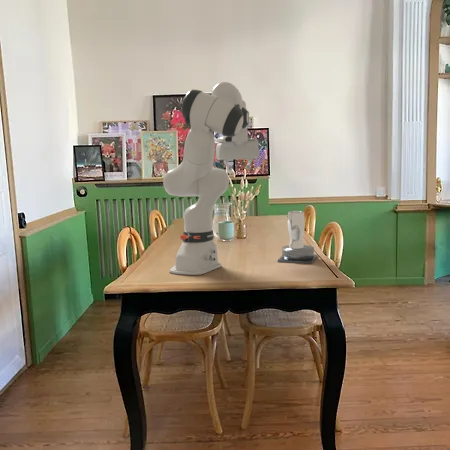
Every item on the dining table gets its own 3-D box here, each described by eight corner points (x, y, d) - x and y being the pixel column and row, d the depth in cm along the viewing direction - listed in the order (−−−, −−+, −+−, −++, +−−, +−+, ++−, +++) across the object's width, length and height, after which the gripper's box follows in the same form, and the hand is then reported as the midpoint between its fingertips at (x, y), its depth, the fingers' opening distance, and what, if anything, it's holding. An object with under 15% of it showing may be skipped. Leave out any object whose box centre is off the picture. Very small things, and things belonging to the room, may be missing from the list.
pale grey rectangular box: (296, 245, 206) (296, 210, 203) (308, 247, 200) (308, 211, 198) (284, 247, 201) (284, 212, 199) (296, 250, 196) (296, 213, 194)
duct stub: (312, 263, 193) (312, 251, 192) (277, 261, 198) (277, 250, 197) (317, 256, 206) (317, 245, 205) (285, 254, 211) (285, 244, 210)
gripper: (255, 137, 221) (255, 168, 223) (213, 138, 213) (214, 170, 215) (261, 137, 216) (262, 168, 218) (219, 138, 207) (220, 170, 209)
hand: (238, 169), depth 216 cm, fingers open, 8 cm apart
